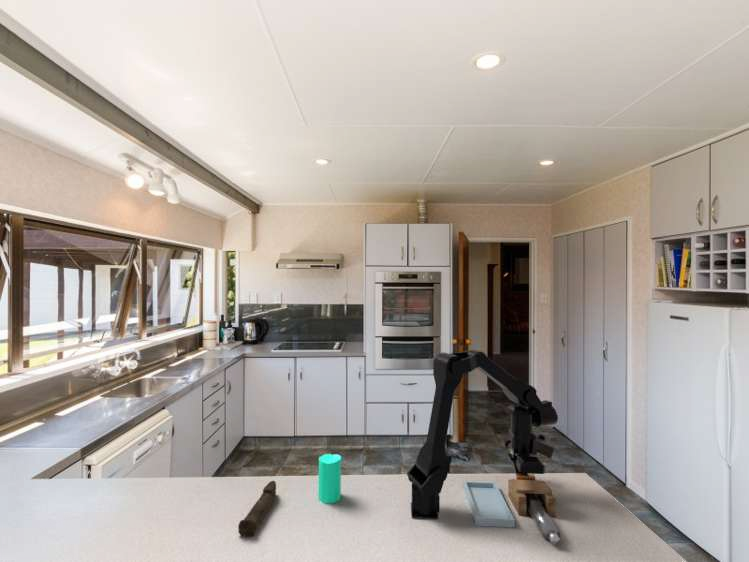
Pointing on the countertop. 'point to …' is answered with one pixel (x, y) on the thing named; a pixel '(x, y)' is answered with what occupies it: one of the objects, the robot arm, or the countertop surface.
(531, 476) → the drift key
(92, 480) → the countertop surface
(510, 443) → the robot arm
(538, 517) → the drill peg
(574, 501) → the countertop surface
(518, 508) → the socket block
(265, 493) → the dark brown rod
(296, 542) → the countertop surface
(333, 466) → the candle
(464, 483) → the tray
